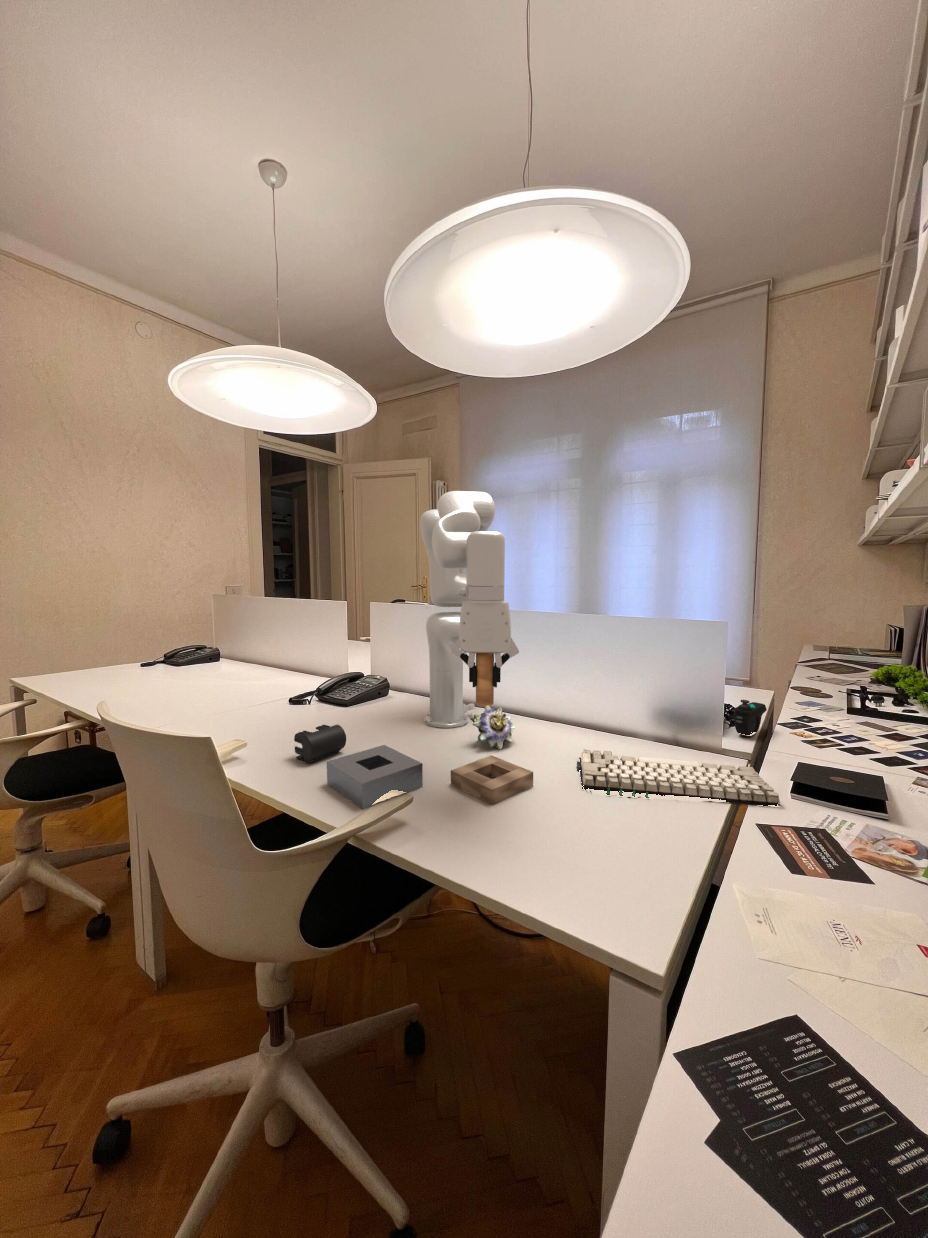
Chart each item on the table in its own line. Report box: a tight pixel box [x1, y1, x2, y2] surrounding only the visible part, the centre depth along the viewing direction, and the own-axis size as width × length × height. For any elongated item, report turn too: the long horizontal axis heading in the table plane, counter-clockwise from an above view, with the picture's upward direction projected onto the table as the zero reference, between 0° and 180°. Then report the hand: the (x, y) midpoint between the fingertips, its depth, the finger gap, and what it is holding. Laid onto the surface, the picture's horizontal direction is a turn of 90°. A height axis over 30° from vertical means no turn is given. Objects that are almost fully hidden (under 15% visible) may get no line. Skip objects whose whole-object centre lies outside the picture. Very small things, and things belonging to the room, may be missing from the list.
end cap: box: [293, 724, 347, 764], centre depth 118 cm, size 10×7×7 cm
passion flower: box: [470, 705, 517, 750], centre depth 127 cm, size 11×11×12 cm
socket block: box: [326, 744, 424, 810], centre depth 103 cm, size 14×14×5 cm
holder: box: [450, 755, 534, 806], centre depth 103 cm, size 12×12×3 cm
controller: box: [733, 699, 767, 735], centre depth 133 cm, size 4×12×10 cm, turn 127°
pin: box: [475, 653, 495, 707], centre depth 101 cm, size 4×4×11 cm
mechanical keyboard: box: [576, 748, 781, 807], centre depth 105 cm, size 38×19×3 cm, turn 79°
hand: (484, 684), depth 101 cm, fingers closed on pin, 3 cm apart
